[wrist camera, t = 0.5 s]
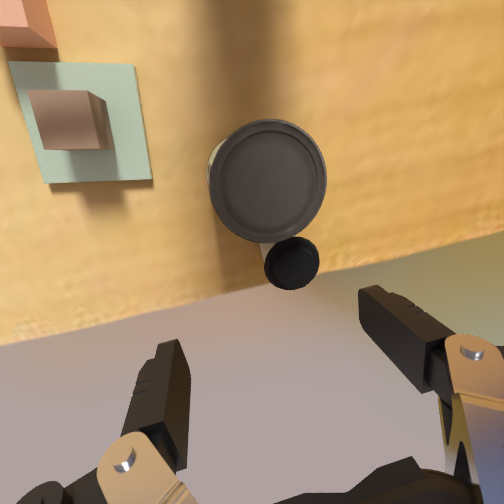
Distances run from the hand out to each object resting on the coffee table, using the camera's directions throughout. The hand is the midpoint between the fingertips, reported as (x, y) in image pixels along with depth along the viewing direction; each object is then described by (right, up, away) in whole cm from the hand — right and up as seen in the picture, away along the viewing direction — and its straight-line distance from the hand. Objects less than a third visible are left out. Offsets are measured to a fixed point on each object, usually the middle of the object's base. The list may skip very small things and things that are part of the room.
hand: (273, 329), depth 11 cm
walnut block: (-19, +18, +18) cm, 32 cm away
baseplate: (-20, +18, +19) cm, 33 cm away
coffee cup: (+2, +5, +28) cm, 29 cm away
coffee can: (-2, +14, +24) cm, 28 cm away
